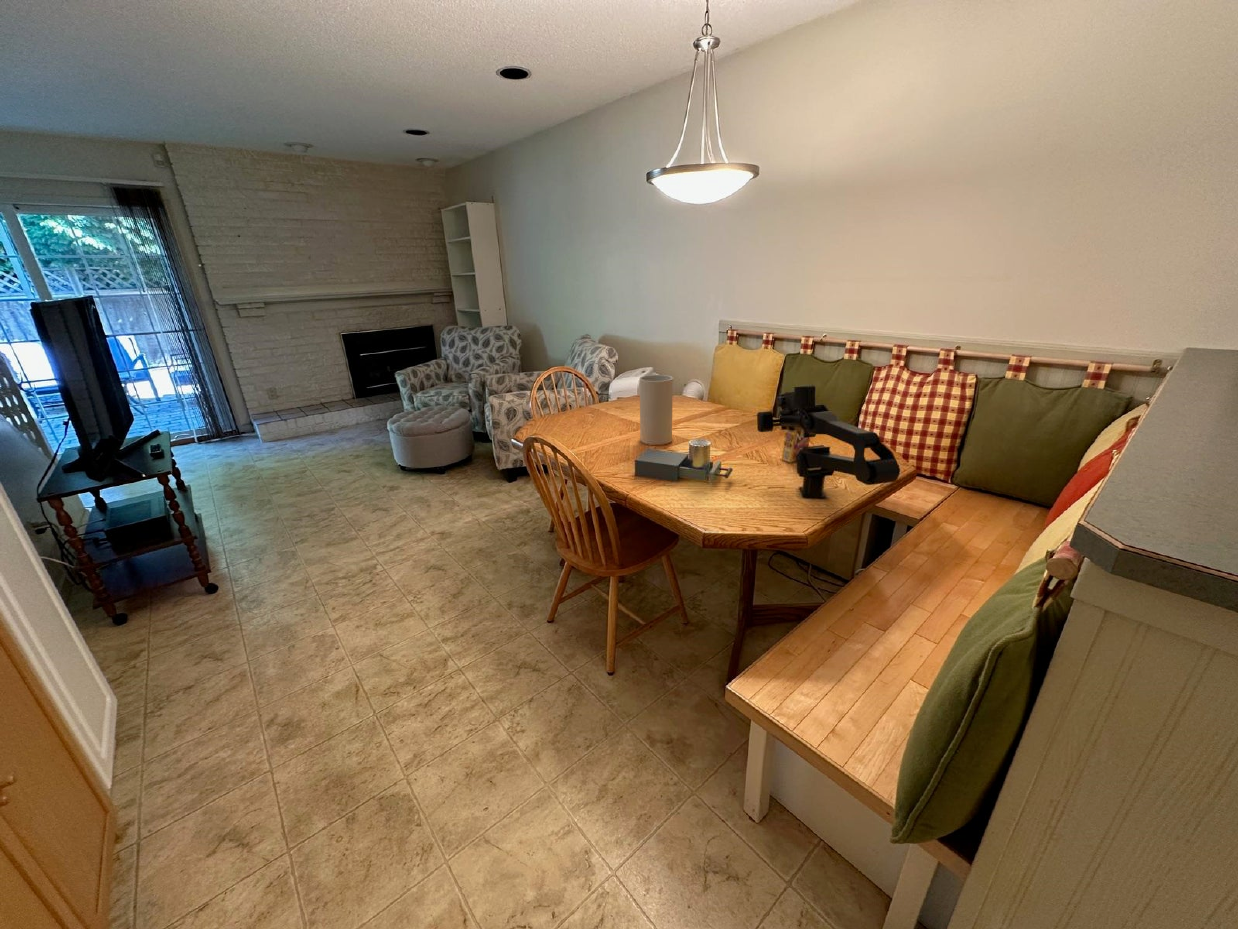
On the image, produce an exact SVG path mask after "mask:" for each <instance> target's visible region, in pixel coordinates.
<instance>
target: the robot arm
mask: <svg viewBox="0 0 1238 929" xmlns="http://www.w3.org/2000/svg"><path fill="white" fill-rule="evenodd" d="M775 404H776V407H777V408H780V409H781V410H779V415H780V416H779V418H774V413H773V411H771V410H769V411H768V410H767V411H758V412H757V413H756V423H757V424H756V425H757V427H756V428H757V432H759V433H769V432H773V430H774V427H781V431H786V429H789V431H792V430H801V431H804V438H809V437H810V438H816V437H817V435H826V436H829V437H831V438H834V439H836V440H838V441H841V442H843V443H846V444H848V445H850V446H852V447H853V450H854V456H853V457H851V456H845V455H840V454H834V453H832V452H831V446H826V445H824V444H820V445H809V446H808V447H803V449H801V450H799V453H798V454H797V456H796V461H795V462H796V473H797V474H798V477H800V478H803V479H802V486H799V487H798V490H799V493H800V495H801V498H805V499H827V495H826V494H825V492H824V486H825V480H826V477H829V476H830V477H832V476H833V475H834V473H835V472H837V473H842V474H845V475H846V474H847V475H850V476H854V477H855V479H856V480H857V481H858V482H860V483H862V484H864V485H866V486H873V485H881V484H889V483H894V482H897V480H898V479H899V476H900V474H901V468H900V465H899V463H898V461H897V459H896V457H895V454H894V453H893V451H892V450H891V449H890V448H888V446H886V445H885V444H884V443H883V442H882V440H881V439H880V436H879V435H878V433H876V432H874V431H870V430H866V429H864V428H861V427H859V426H855V425H853V424H850V423H847V422H845V421H842V420H840V419H839V417H838V415H836V414H835V413H834V412H831V411H830V410H829V409H828V407H827V406H826V405H825V404H824V403H822V404H816V386H815V384H813V385H800V386H799V385H797V386H793V391H787V392H784V393H780V394H778V395H777V397H776V398H775ZM866 449H870V450H871V451H872V452H873V453H874V454H875V455H876V456H877V457H878V458H874V459H873V458H872V459H866V457H865V450H866Z"/></svg>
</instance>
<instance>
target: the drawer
mask: <svg viewBox="0 0 1238 929" xmlns="http://www.w3.org/2000/svg"><path fill="white" fill-rule="evenodd" d="M722 471H725V473H722ZM732 472H733V467H728V468H726V467H722V460H717V461H716V462H715V464H714V461H711V460H710V467H709V474H707V475H706V473H707V470H700V469H692V468H689V457H688V458H686V459H685V460H684V461H683V463H682V464H681V465H680V466H679V467H678V477H681V478H680V479H689V480H696V481H703V482H706V481H707V479H709V480H708V484H711V485H712V484H714V483H715V481H717V478H718V477H723V478H724V479H729V478H730V476H731V475H732Z"/></svg>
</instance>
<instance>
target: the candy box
mask: <svg viewBox="0 0 1238 929" xmlns="http://www.w3.org/2000/svg"><path fill="white" fill-rule="evenodd" d="M810 438H811V437H809V438H804V431H801V430H792V431H789V429H786V430H784V440H783V446H782V455H781V460H783V461H784V462H787V463H790V464H791V463H793V462H796V456H797V454H798V453H799V450H801V449H803V447H810V445H809V444H810Z"/></svg>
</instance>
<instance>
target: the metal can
mask: <svg viewBox="0 0 1238 929" xmlns="http://www.w3.org/2000/svg"><path fill="white" fill-rule="evenodd" d="M711 445H712V444H711V441H709V440H707V439H704V438H703V439H701V438H697V439H692V440H689V441H688V454H689V455H688V458H689V468H692V469H700V470H707V473H706V475H707V474H709V467H710V461H711Z"/></svg>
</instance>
